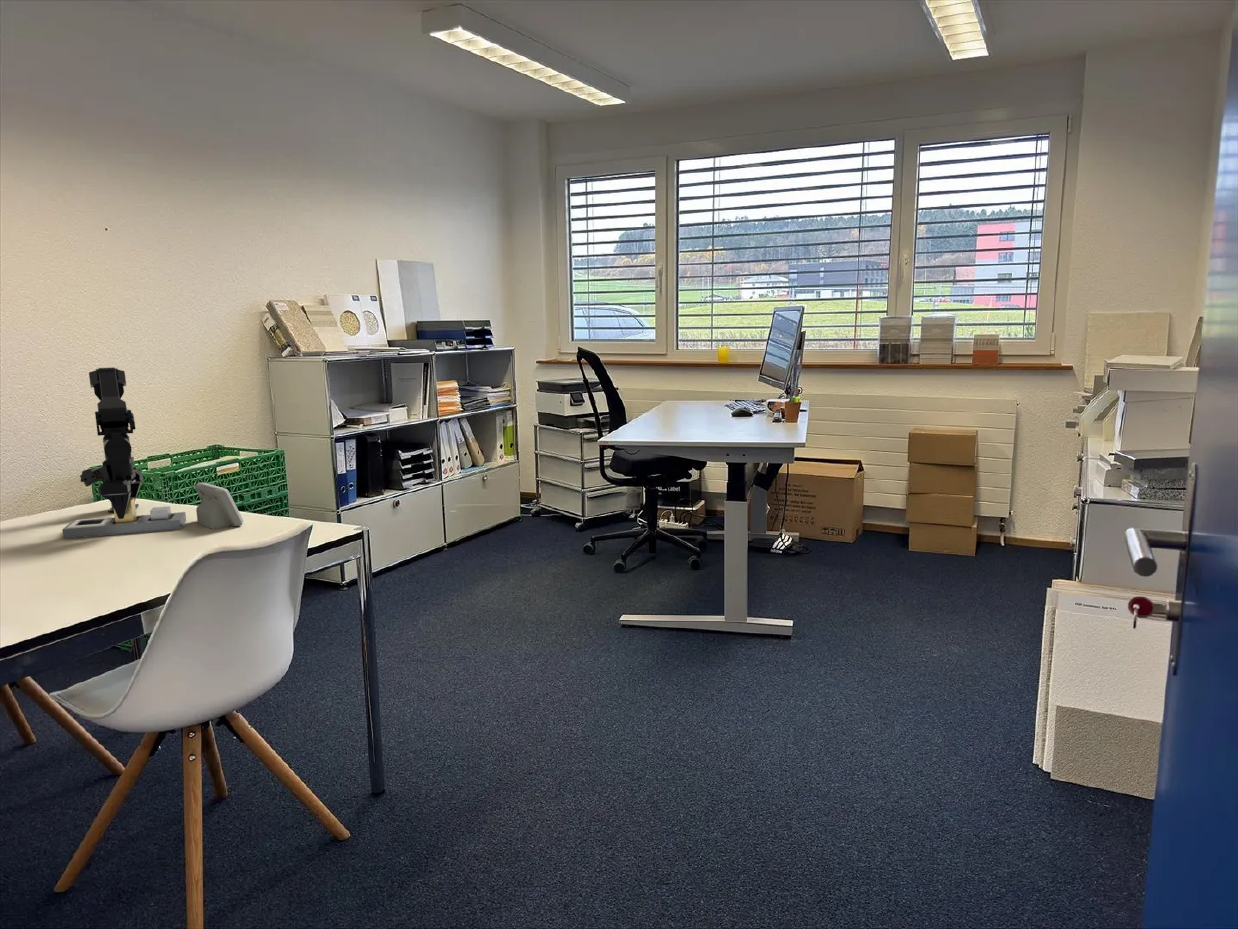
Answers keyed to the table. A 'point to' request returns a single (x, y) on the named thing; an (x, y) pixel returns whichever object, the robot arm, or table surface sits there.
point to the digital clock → (216, 507)
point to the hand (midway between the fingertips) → (125, 514)
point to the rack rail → (121, 526)
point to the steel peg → (160, 513)
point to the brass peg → (128, 513)
